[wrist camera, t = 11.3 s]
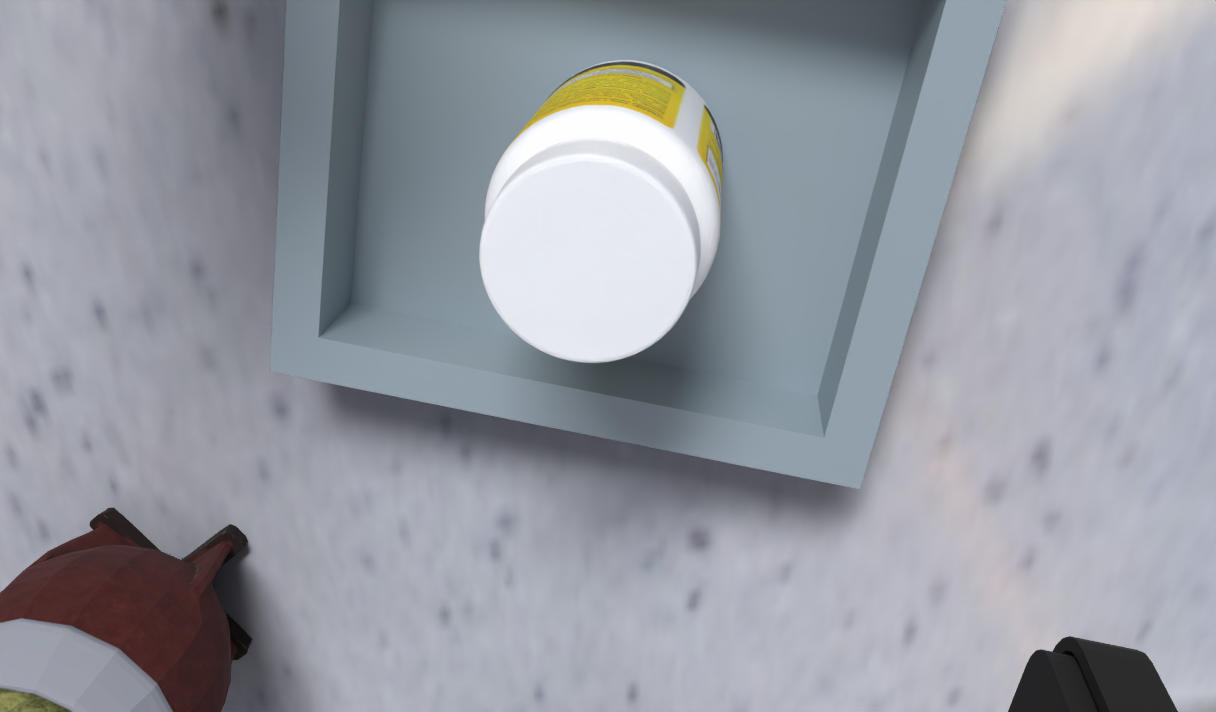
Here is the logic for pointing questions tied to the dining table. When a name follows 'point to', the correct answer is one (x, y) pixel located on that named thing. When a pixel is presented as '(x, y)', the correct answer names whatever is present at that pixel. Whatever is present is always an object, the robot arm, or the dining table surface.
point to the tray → (750, 210)
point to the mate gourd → (119, 626)
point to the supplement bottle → (604, 213)
